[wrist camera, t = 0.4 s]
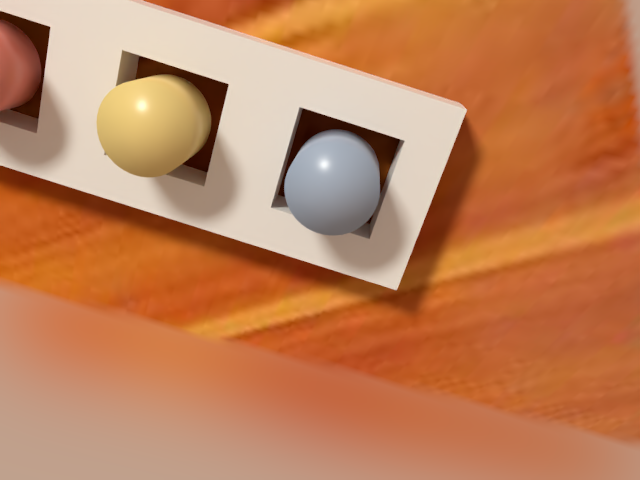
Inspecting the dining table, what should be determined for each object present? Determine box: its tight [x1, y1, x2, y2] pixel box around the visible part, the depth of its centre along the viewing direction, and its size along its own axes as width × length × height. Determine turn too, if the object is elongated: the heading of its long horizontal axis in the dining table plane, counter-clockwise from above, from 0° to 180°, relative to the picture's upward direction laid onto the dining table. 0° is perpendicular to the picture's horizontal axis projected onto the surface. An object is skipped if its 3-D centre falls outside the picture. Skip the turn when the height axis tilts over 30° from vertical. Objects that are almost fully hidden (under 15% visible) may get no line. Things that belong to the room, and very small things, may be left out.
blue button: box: [284, 129, 380, 235], centre depth 29 cm, size 4×4×4 cm
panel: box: [0, 0, 467, 290], centre depth 31 cm, size 28×10×2 cm, turn 73°
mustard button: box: [96, 74, 211, 177], centre depth 29 cm, size 4×4×4 cm
